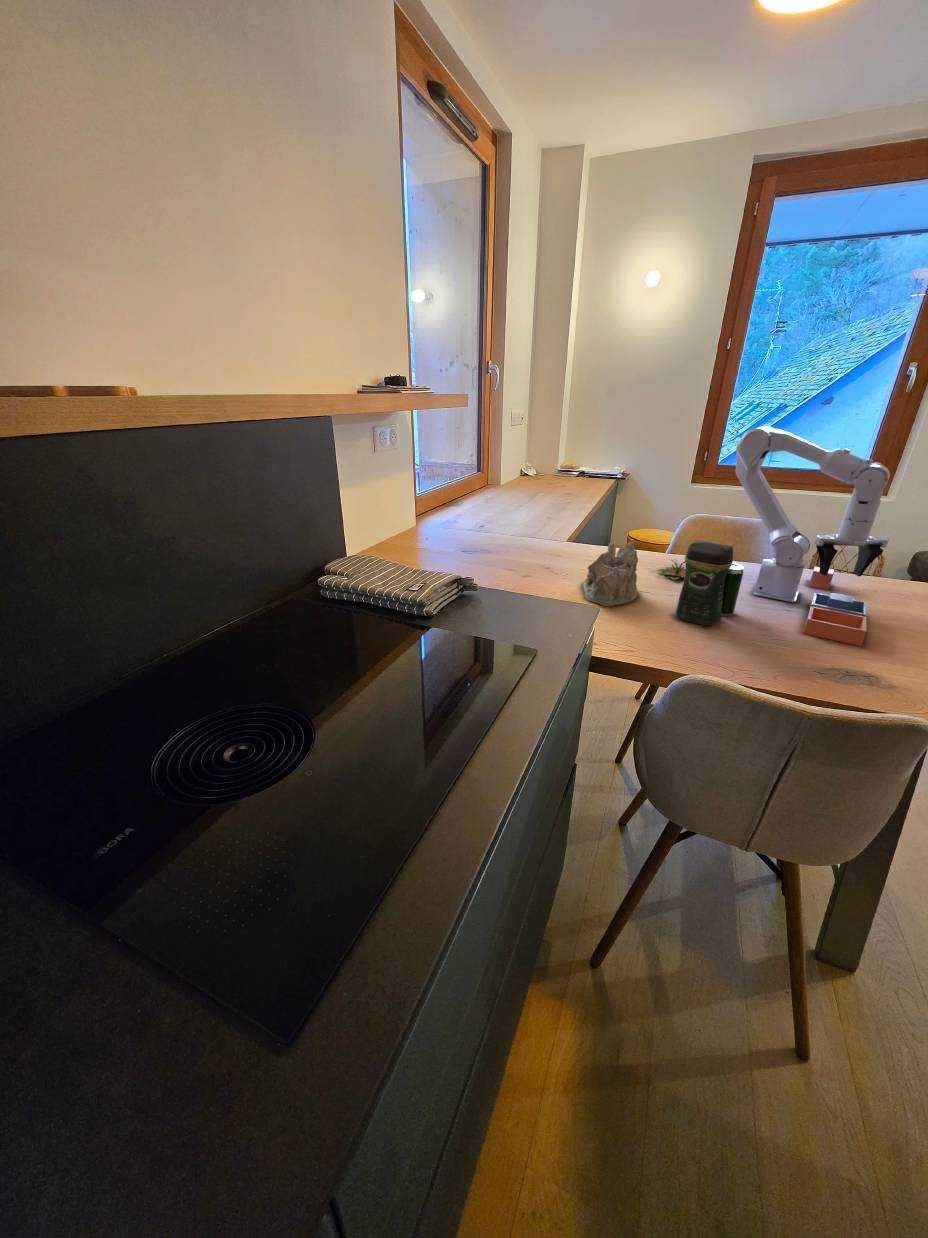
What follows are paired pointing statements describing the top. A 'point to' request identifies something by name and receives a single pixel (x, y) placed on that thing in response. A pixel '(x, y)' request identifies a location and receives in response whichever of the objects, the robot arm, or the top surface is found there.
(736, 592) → the beer can
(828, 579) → the terracotta block
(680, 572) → the lily flower
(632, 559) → the grey jagged hollow piece
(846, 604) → the blue block
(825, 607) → the blue bin
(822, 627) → the terracotta bin
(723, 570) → the coffee jar
